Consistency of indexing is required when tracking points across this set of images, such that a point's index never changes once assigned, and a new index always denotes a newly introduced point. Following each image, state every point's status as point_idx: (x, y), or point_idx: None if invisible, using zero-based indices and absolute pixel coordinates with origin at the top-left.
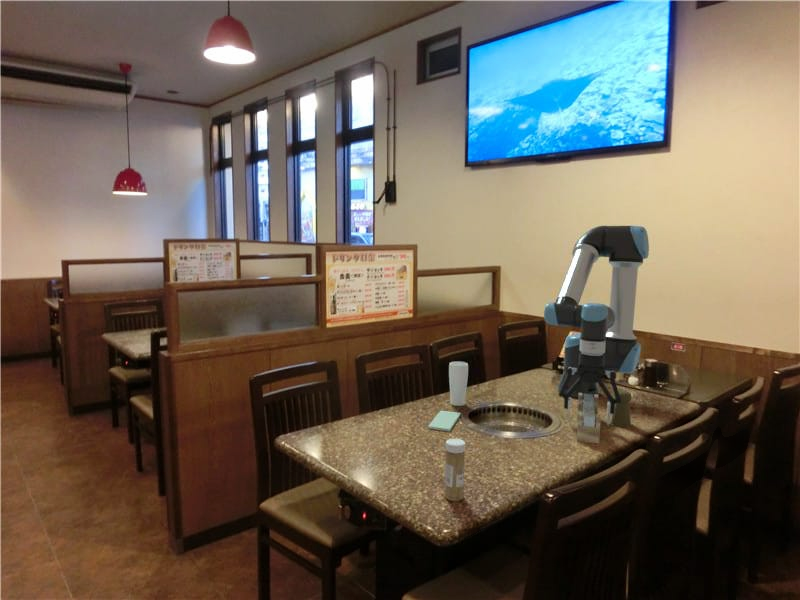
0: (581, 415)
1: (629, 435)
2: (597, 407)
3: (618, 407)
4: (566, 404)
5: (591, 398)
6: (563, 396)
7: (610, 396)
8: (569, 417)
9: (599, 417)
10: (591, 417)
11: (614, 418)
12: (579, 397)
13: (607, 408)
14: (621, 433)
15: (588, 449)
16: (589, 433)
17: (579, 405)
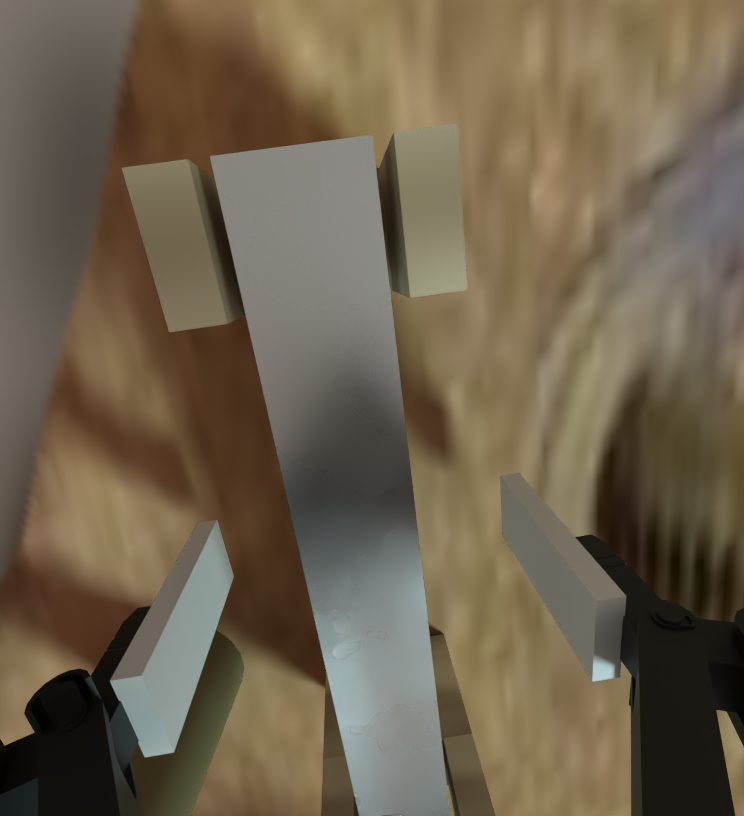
0: (412, 130)
1: (81, 509)
2: (326, 745)
3: (144, 774)
4: (601, 566)
5: (375, 803)
6: (708, 631)
7: (52, 813)
8: (510, 485)
9: (142, 171)
10: (263, 151)
11: (204, 676)
12: (482, 800)
13: (182, 651)
14: (138, 519)
15: (283, 26)
16: None
17: (458, 723)
